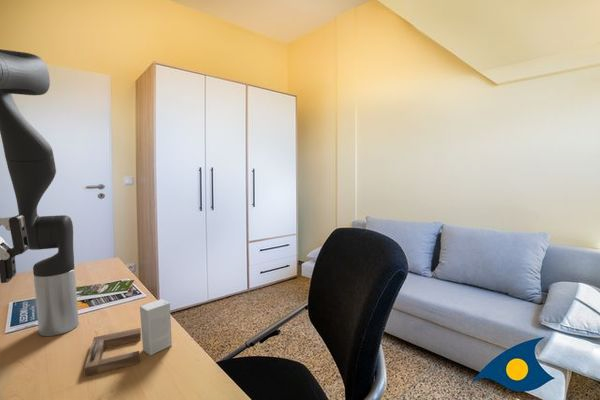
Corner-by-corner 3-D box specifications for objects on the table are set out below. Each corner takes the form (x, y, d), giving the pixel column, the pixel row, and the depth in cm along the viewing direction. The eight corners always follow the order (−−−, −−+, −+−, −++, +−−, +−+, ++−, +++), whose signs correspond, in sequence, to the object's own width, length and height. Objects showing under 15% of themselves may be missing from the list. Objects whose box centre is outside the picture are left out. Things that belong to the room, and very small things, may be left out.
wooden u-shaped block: (94, 344, 82) (93, 334, 82) (140, 334, 87) (140, 325, 87) (84, 376, 70) (84, 364, 69) (139, 362, 74) (138, 352, 74)
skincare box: (164, 339, 84) (162, 298, 83) (172, 345, 82) (170, 302, 80) (141, 350, 80) (139, 305, 78) (149, 356, 77) (146, 311, 76)
